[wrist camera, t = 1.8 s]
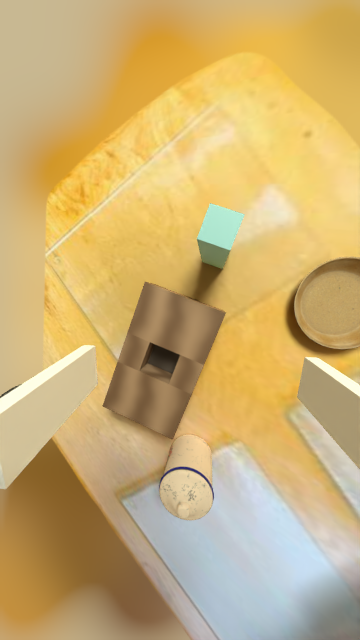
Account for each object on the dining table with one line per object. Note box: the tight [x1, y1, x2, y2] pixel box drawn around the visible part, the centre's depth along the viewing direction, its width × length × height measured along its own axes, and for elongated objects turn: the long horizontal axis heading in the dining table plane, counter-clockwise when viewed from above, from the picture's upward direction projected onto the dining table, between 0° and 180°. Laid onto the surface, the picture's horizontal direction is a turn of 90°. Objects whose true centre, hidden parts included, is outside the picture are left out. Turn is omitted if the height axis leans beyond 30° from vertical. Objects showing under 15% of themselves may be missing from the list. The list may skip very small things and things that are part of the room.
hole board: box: [103, 282, 226, 439], centre depth 36 cm, size 14×24×6 cm, turn 159°
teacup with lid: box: [159, 434, 214, 520], centre depth 35 cm, size 12×9×12 cm
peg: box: [197, 203, 245, 269], centre depth 28 cm, size 4×4×14 cm
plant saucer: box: [294, 257, 360, 349], centre depth 32 cm, size 15×15×3 cm
